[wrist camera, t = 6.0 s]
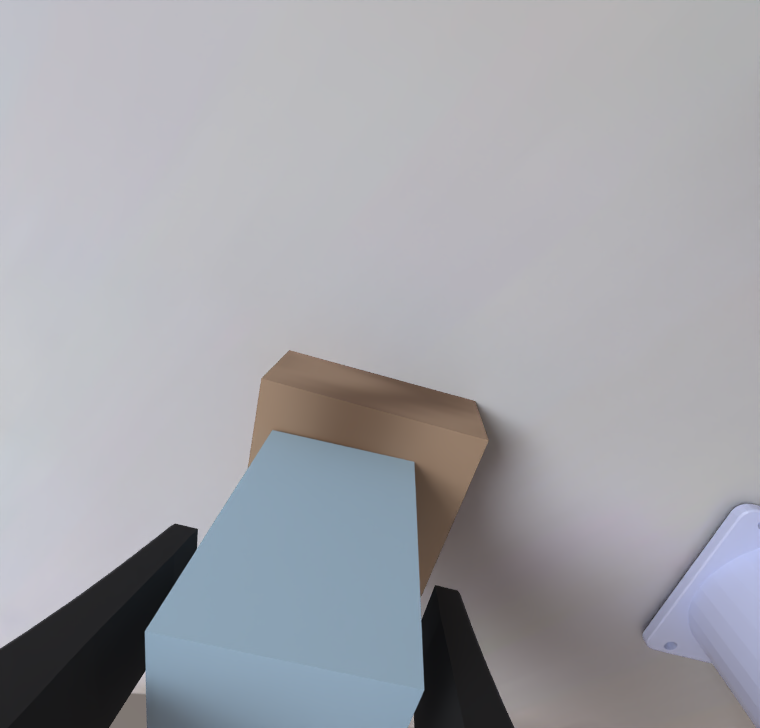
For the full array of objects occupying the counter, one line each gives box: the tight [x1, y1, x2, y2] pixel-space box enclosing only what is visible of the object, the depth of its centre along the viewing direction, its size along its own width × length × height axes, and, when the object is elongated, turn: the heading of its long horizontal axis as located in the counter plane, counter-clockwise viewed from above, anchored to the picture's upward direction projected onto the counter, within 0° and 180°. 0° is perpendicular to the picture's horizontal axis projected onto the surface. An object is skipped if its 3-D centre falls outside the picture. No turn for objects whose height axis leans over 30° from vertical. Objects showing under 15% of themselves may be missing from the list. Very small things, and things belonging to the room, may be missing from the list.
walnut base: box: [248, 350, 489, 598], centre depth 14 cm, size 7×7×3 cm
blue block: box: [145, 430, 424, 728], centre depth 9 cm, size 4×4×6 cm
